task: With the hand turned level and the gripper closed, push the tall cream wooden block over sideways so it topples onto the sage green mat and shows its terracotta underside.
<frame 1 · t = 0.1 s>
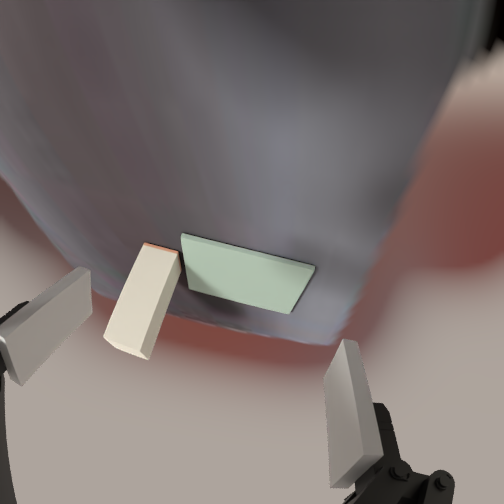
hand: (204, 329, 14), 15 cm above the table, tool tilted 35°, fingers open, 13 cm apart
cream block: (163, 256, 41), on the table
sage mat: (243, 277, 41), on the table
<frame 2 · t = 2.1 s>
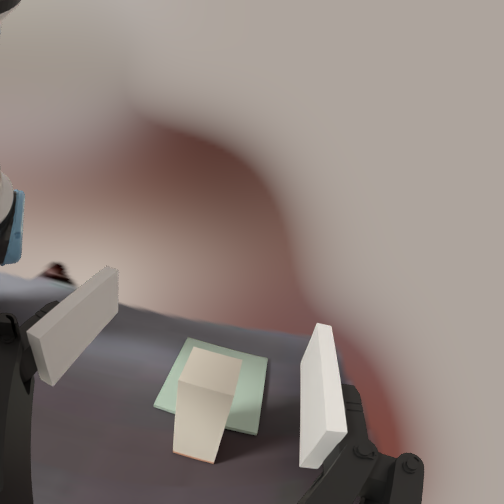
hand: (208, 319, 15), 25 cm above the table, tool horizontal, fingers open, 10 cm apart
cream block: (197, 443, 31), on the table
sage mat: (216, 383, 42), on the table
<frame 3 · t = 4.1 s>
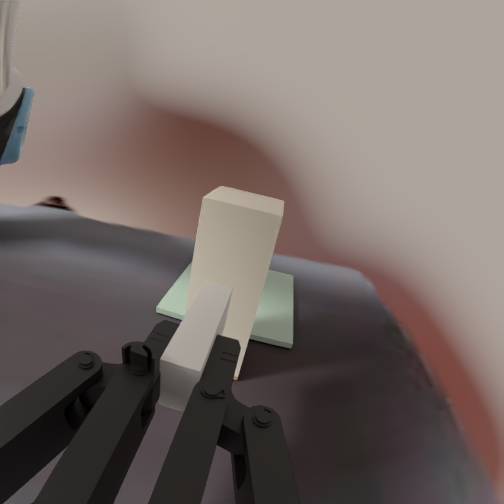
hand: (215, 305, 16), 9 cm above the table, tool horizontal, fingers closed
cream block: (214, 353, 26), on the table
sage mat: (235, 293, 36), on the table
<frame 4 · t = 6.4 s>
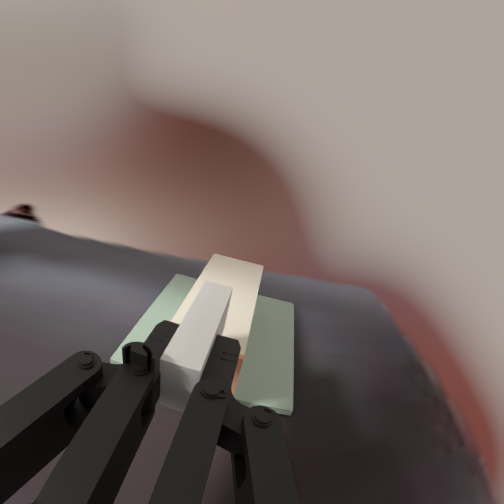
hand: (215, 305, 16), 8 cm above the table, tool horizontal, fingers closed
cream block: (196, 377, 18), point 3 cm above the table, tilted 90°, touching sage mat
sage mat: (218, 333, 27), on the table
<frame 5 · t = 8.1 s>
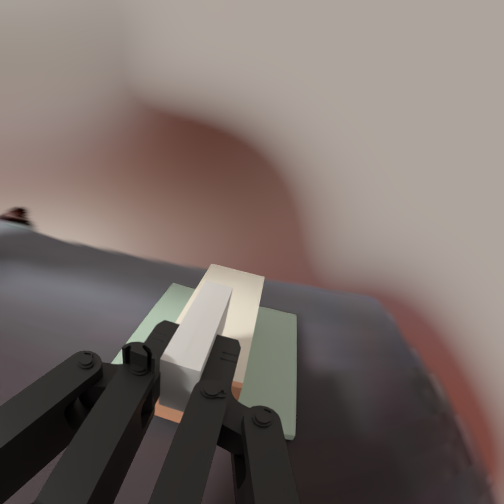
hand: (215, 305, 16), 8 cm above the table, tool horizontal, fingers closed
cream block: (191, 403, 16), point 3 cm above the table, tilted 90°, touching sage mat
sage mat: (216, 349, 25), on the table
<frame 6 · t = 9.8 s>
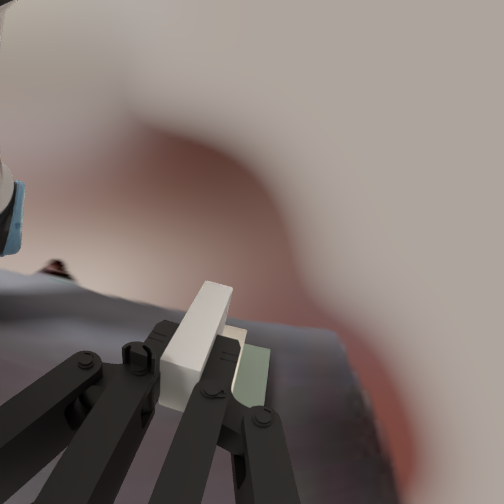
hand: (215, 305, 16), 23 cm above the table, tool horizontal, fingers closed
cream block: (206, 405, 32), point 3 cm above the table, tilted 90°, touching sage mat
sage mat: (218, 373, 41), on the table
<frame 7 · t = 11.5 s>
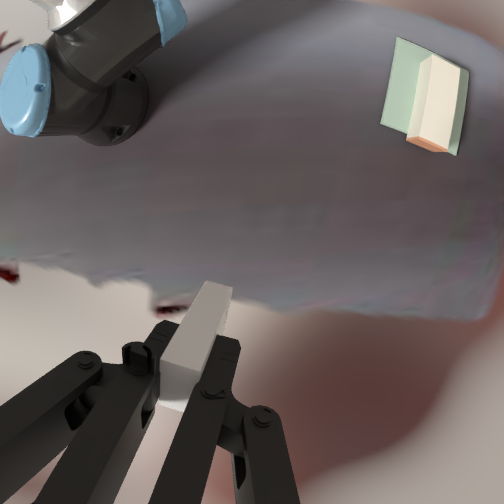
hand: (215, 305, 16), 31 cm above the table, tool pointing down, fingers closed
cream block: (426, 145, 37), point 3 cm above the table, tilted 90°, touching sage mat
sage mat: (428, 94, 37), on the table
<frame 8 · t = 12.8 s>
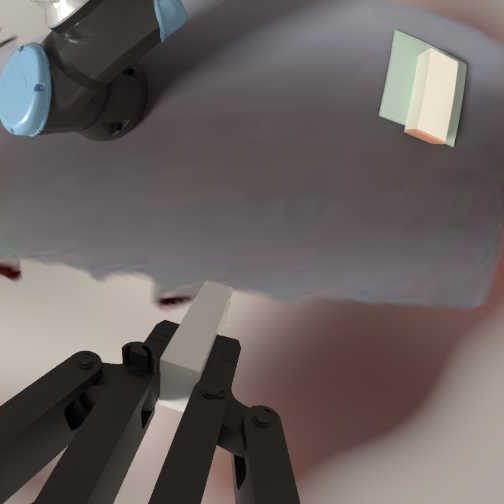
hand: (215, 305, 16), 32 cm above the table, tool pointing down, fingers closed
cream block: (424, 137, 37), point 3 cm above the table, tilted 90°, touching sage mat
sage mat: (426, 87, 36), on the table
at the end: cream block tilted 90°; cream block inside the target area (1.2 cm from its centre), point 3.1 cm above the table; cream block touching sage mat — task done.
